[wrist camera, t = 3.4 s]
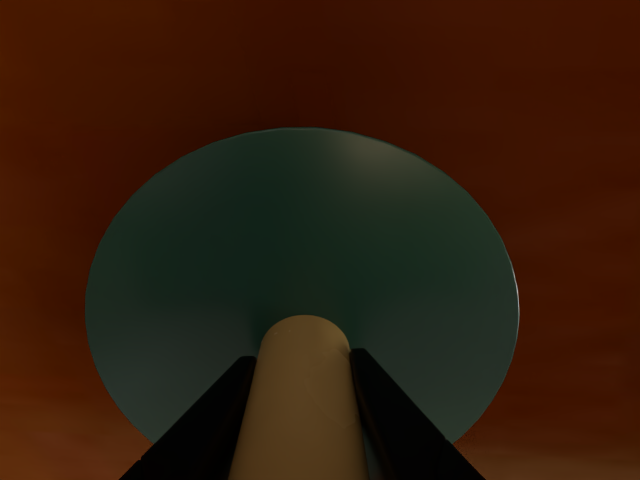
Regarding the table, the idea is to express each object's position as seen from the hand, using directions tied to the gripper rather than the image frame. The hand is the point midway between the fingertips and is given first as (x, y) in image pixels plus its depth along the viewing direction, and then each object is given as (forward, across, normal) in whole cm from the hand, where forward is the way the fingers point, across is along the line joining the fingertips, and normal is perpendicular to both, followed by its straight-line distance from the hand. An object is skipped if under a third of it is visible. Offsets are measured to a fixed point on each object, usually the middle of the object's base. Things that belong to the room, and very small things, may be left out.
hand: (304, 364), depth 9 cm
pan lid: (+1, 0, 0) cm, 1 cm away
